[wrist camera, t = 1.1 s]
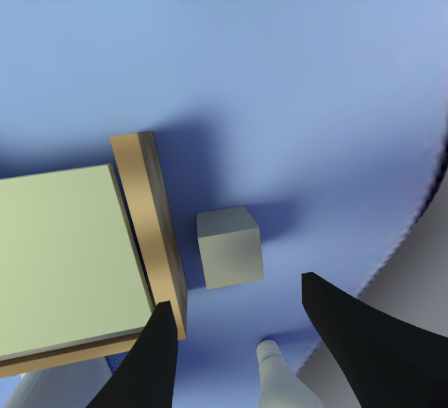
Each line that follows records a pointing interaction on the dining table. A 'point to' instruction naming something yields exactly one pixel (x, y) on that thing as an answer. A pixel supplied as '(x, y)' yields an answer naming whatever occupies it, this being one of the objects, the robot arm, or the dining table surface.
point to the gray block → (229, 247)
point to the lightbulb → (281, 381)
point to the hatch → (67, 262)
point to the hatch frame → (150, 248)
